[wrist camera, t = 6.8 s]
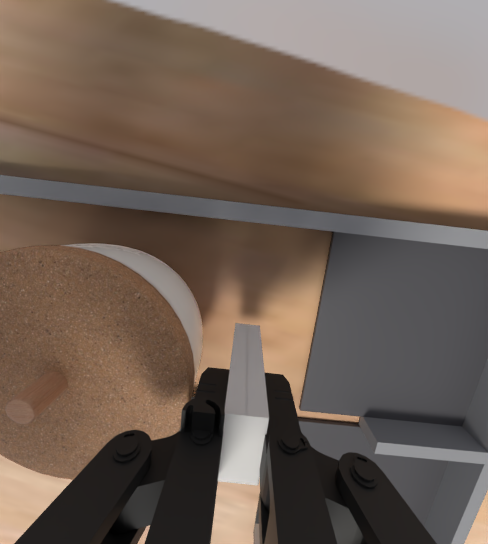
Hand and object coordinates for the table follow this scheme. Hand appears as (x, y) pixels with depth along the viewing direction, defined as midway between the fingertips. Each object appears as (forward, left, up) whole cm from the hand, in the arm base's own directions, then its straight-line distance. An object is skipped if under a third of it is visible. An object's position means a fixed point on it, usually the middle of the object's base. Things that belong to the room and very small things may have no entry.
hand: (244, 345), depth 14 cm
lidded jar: (-7, 0, -4) cm, 8 cm away
